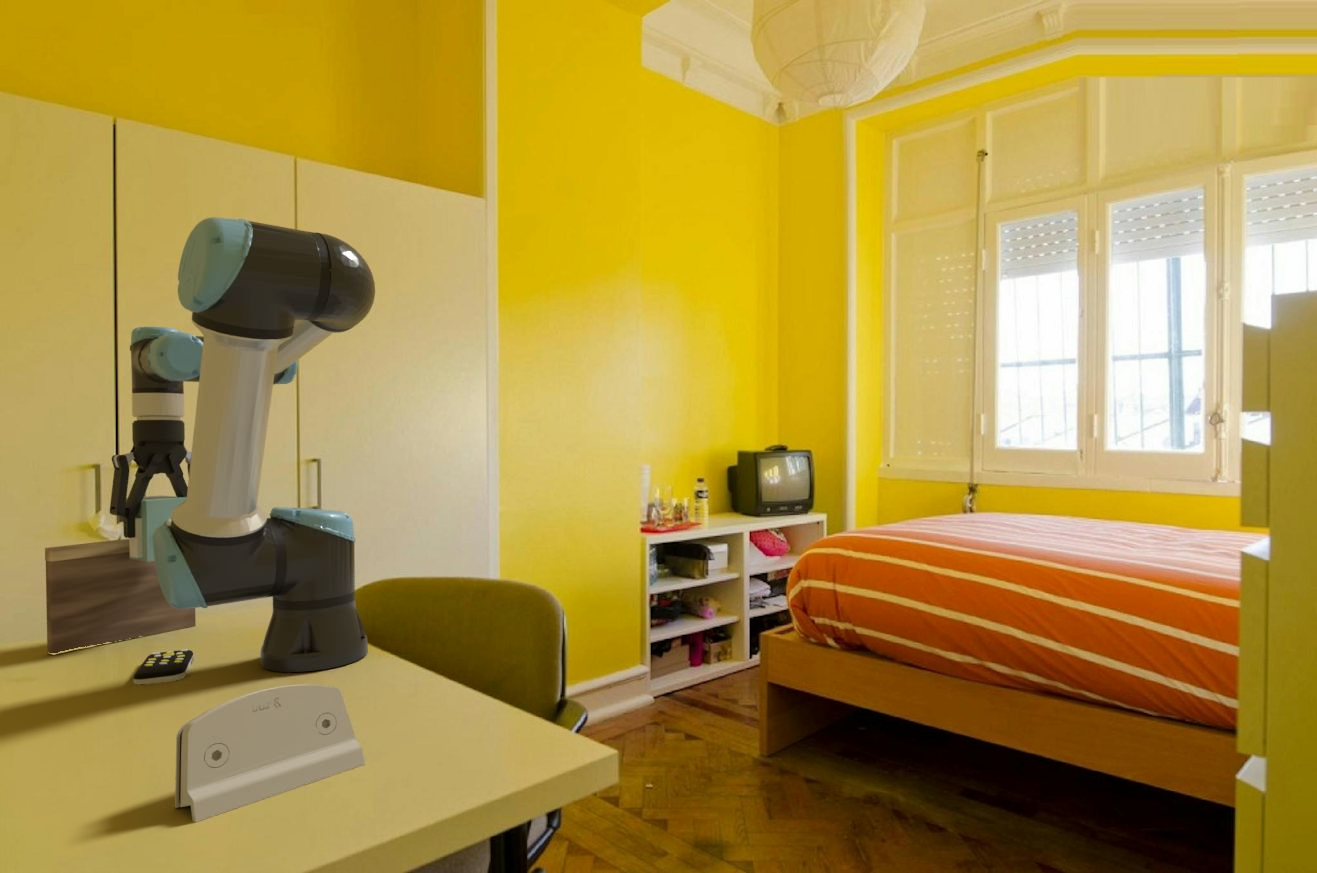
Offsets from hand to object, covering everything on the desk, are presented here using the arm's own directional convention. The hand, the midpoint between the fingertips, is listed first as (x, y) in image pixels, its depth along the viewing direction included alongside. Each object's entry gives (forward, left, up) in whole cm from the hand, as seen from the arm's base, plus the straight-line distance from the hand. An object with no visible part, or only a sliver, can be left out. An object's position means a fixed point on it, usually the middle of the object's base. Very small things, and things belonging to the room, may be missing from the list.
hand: (160, 553), depth 134 cm
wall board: (+6, +3, -15) cm, 16 cm away
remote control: (-20, +9, -15) cm, 27 cm away
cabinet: (+2, 0, -1) cm, 2 cm away
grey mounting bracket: (-69, +23, -15) cm, 74 cm away
